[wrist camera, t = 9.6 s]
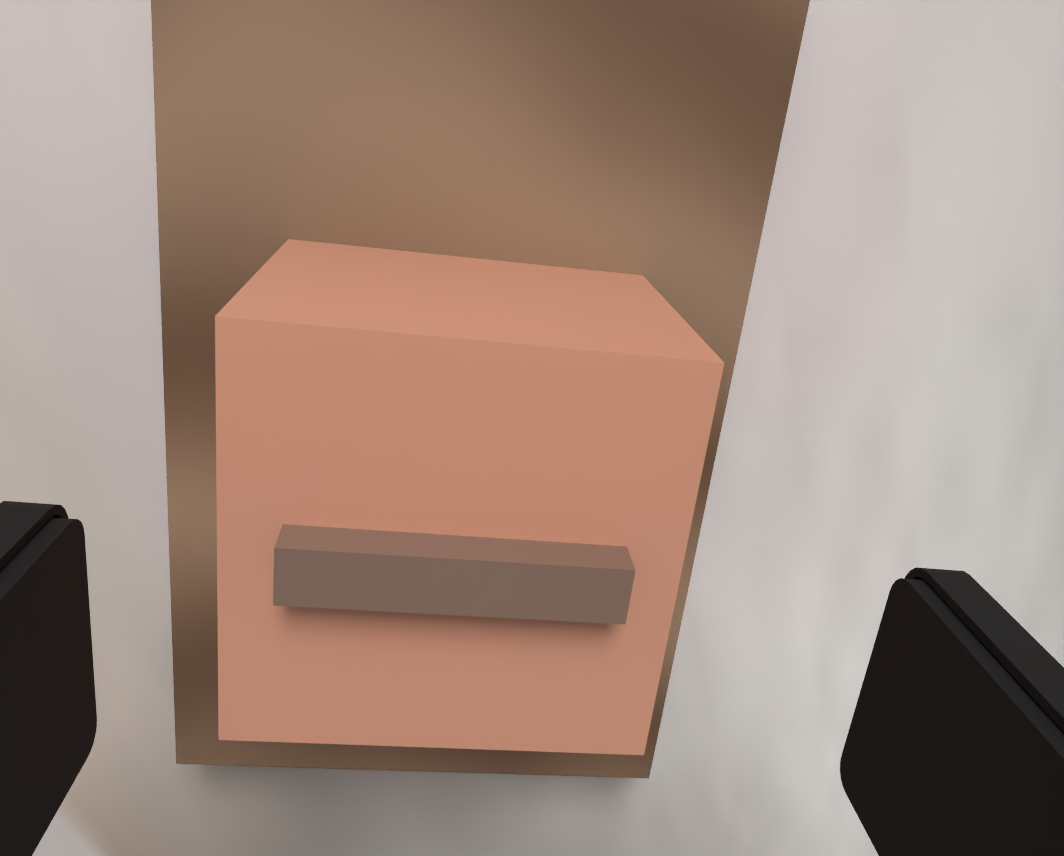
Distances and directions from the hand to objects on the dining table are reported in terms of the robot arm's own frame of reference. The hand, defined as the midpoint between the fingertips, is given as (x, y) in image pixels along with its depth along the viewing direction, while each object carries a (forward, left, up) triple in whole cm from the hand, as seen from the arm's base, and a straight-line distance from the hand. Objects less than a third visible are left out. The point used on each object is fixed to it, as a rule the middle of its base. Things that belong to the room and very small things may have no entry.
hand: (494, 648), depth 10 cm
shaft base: (0, +1, -8) cm, 8 cm away
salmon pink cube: (0, 0, -7) cm, 7 cm away
